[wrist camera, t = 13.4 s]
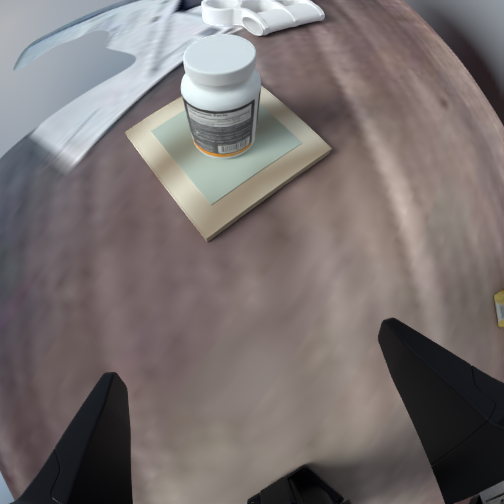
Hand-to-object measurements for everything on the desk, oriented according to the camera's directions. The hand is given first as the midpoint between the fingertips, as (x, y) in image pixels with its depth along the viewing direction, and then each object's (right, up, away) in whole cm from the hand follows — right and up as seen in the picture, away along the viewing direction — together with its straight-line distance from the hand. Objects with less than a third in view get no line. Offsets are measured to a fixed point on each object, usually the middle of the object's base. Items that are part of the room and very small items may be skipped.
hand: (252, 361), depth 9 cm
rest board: (-3, +14, +17) cm, 22 cm away
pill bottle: (-2, +14, +16) cm, 21 cm away
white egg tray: (+2, +40, +24) cm, 46 cm away
